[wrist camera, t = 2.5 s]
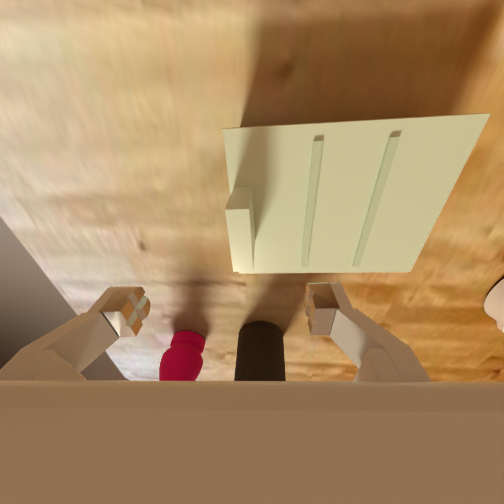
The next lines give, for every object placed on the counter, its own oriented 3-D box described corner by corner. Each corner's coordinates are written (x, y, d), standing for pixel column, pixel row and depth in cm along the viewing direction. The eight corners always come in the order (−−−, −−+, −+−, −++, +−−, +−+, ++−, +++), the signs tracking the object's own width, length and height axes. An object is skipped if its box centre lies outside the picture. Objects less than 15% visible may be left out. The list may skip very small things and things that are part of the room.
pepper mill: (197, 326, 38) (146, 493, 21) (213, 347, 41) (180, 502, 25) (163, 331, 39) (91, 491, 23) (182, 351, 43) (132, 500, 27)
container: (231, 341, 40) (208, 503, 24) (246, 314, 35) (230, 494, 19) (272, 351, 41) (277, 510, 25) (292, 326, 36) (315, 505, 20)
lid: (467, 112, 14) (579, 115, 9) (400, 261, 22) (441, 307, 17) (226, 127, 16) (208, 136, 10) (240, 262, 23) (234, 306, 18)
